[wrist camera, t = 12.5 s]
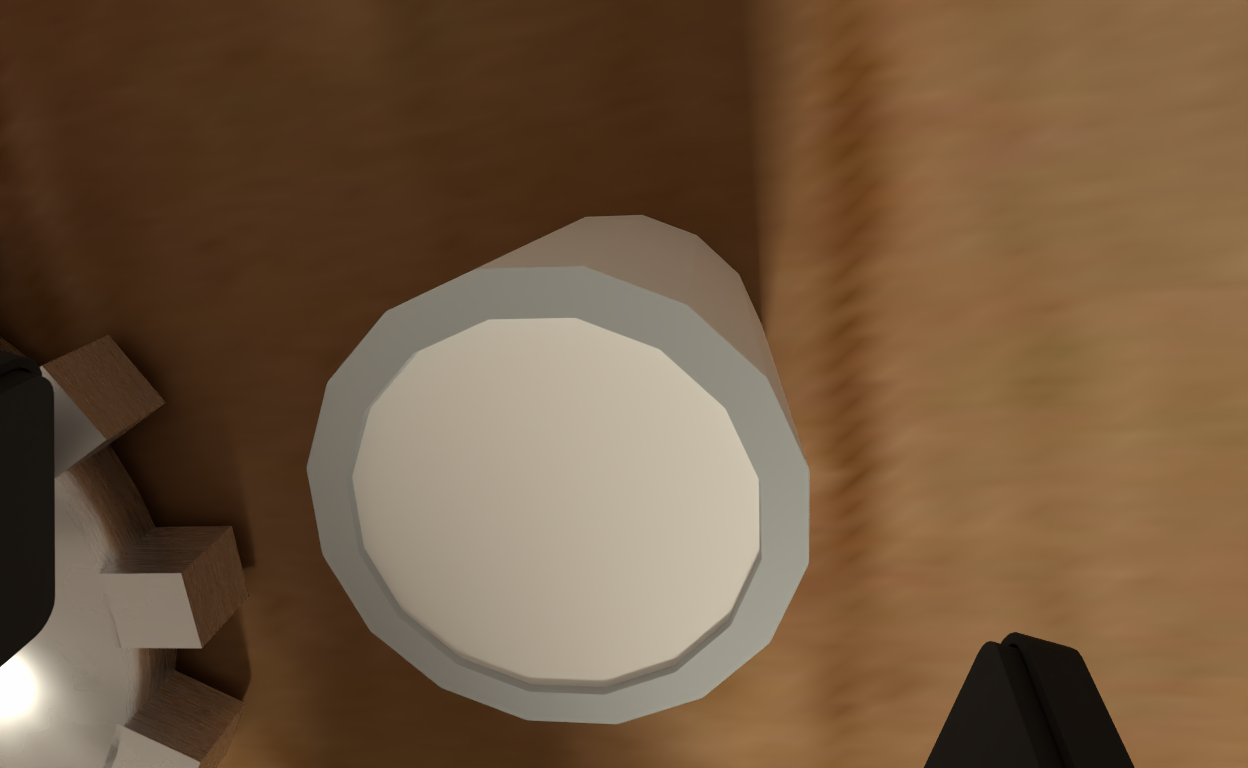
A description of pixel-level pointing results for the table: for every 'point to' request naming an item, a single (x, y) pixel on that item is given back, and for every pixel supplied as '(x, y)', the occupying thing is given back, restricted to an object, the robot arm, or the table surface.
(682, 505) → the white cup
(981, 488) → the table surface
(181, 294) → the table surface
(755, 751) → the table surface
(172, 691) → the index wheel
